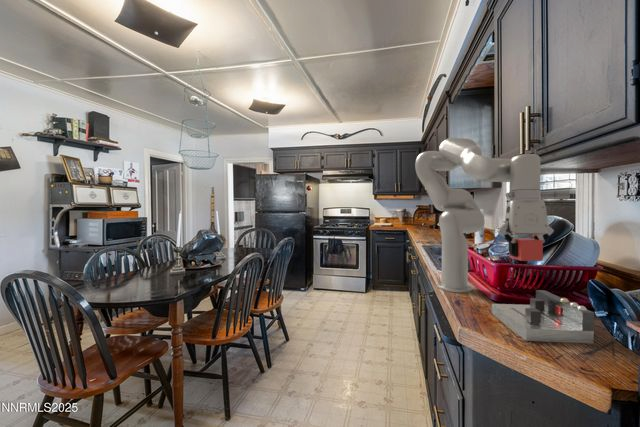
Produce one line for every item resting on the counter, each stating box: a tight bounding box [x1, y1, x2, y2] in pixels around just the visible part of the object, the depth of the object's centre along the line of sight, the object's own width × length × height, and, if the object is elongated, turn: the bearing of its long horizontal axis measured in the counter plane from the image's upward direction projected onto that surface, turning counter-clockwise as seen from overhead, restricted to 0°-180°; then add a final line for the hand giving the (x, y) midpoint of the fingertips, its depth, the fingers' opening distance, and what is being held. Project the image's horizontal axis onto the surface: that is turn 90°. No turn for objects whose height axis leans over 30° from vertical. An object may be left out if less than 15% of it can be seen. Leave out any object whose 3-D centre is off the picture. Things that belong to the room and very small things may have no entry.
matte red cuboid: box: [508, 237, 544, 262], centre depth 88 cm, size 6×6×6 cm
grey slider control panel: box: [491, 289, 595, 344], centre depth 79 cm, size 18×15×8 cm
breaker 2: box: [525, 308, 541, 323], centre depth 75 cm, size 2×2×3 cm
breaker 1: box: [529, 297, 545, 312], centre depth 83 cm, size 2×2×3 cm
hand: (525, 255), depth 88 cm, fingers closed on matte red cuboid, 6 cm apart
